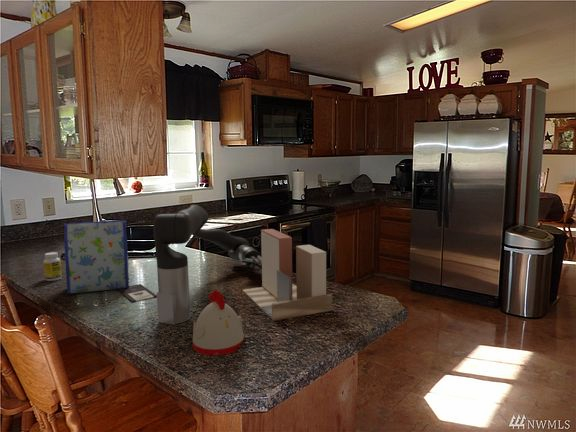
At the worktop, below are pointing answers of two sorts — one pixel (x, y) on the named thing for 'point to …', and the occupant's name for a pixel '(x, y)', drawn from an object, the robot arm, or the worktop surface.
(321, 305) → the rack
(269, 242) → the terracotta book
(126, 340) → the worktop surface
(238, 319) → the kitchen timer
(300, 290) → the cream book
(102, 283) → the lunch bag
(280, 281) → the bookend
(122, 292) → the chocolate bar
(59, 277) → the pill bottle
